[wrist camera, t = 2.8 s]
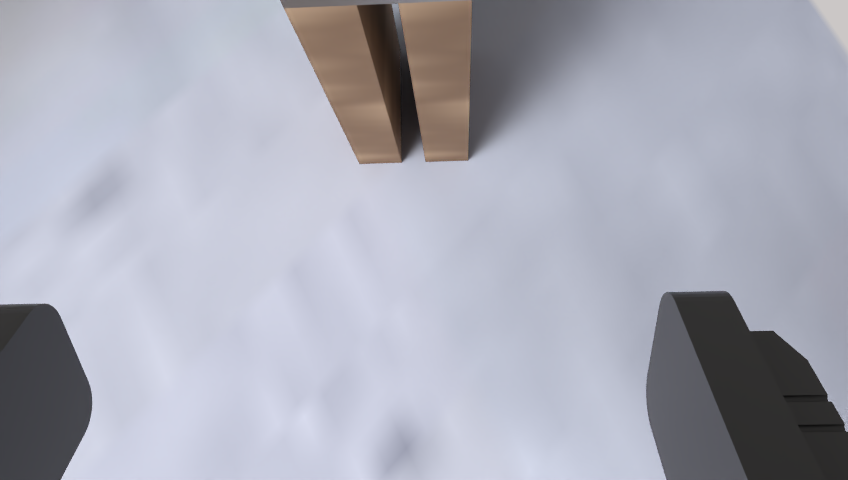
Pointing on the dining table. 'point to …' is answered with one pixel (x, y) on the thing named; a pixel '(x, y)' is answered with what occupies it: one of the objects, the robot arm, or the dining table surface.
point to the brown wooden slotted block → (391, 70)
